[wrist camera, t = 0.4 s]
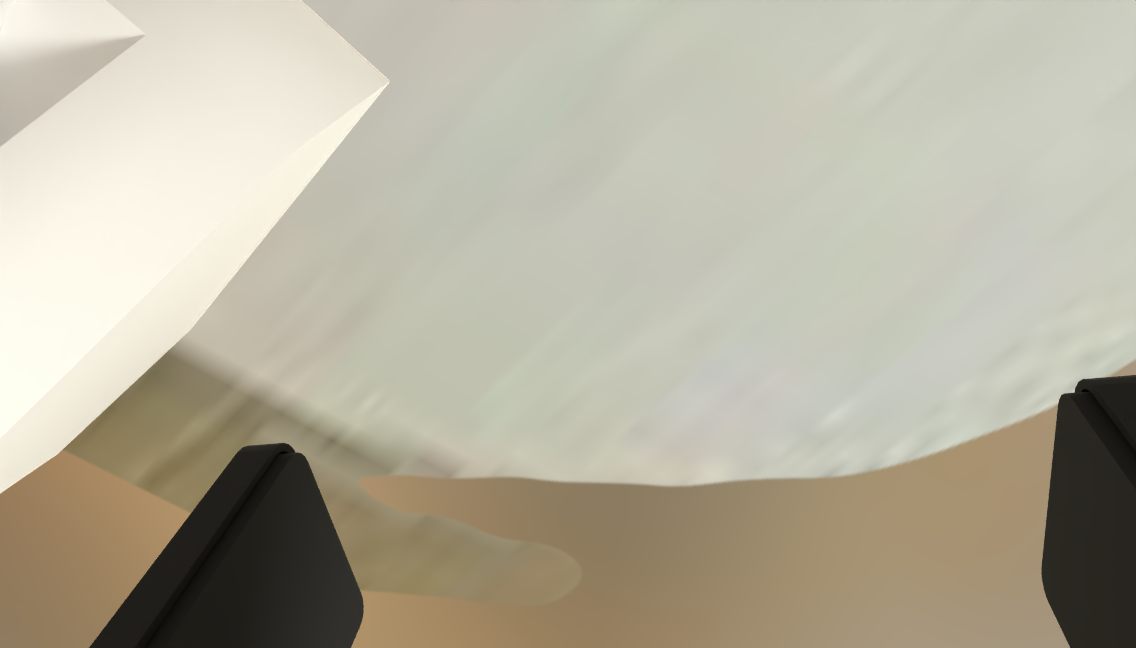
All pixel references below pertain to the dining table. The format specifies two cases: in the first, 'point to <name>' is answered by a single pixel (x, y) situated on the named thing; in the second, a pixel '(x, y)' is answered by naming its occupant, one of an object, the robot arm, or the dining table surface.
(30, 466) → the white u-shaped block
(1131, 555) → the robot arm
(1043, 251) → the dining table surface
